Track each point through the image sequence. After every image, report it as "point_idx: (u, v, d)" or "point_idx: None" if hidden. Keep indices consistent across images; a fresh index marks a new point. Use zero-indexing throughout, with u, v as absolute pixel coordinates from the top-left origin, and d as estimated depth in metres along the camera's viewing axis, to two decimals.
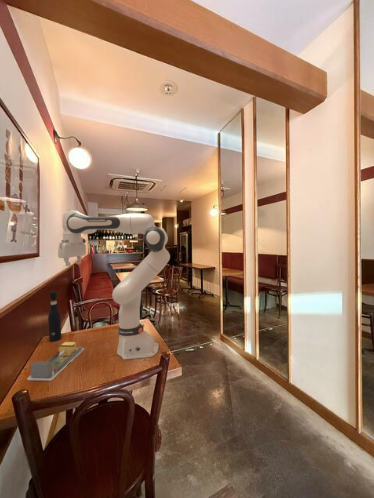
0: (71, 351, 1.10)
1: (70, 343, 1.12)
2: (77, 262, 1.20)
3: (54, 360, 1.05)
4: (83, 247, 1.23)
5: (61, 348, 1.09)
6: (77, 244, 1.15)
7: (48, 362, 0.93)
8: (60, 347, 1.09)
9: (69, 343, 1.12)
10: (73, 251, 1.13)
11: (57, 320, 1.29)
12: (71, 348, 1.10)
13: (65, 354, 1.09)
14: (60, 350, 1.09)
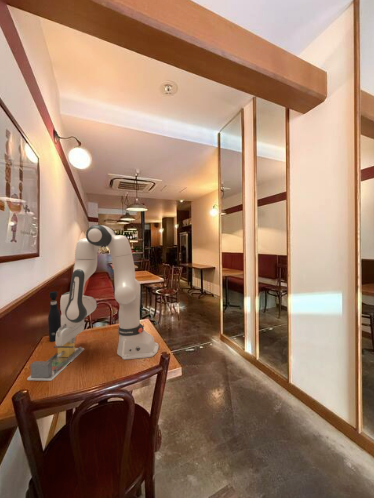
0: (70, 352, 1.08)
1: (69, 344, 1.11)
2: None
3: (54, 360, 1.05)
4: (81, 323, 1.21)
5: (60, 349, 1.08)
6: (75, 325, 1.13)
7: (48, 362, 0.93)
8: (59, 348, 1.08)
9: (67, 344, 1.11)
10: (71, 334, 1.12)
11: (57, 320, 1.29)
12: (70, 349, 1.08)
13: (64, 355, 1.08)
14: (59, 351, 1.08)
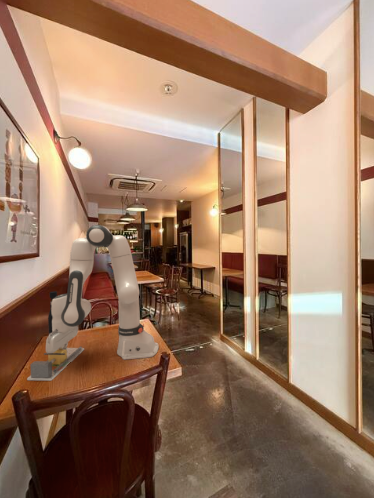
0: (61, 359, 1.02)
1: (61, 351, 1.04)
2: None
3: None
4: (74, 328, 1.15)
5: (50, 356, 1.01)
6: (67, 331, 1.07)
7: (48, 362, 0.93)
8: (49, 355, 1.01)
9: (59, 351, 1.04)
10: (63, 339, 1.05)
11: None
12: (61, 356, 1.02)
13: (55, 363, 1.01)
14: (49, 358, 1.01)
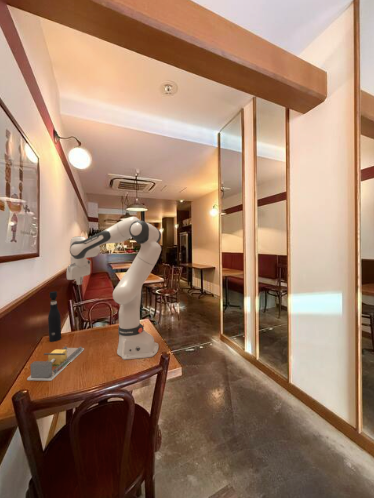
0: (61, 359, 1.02)
1: (61, 351, 1.04)
2: None
3: None
4: (88, 267, 1.37)
5: (50, 356, 1.01)
6: (83, 266, 1.29)
7: (48, 362, 0.93)
8: (49, 355, 1.01)
9: (59, 351, 1.04)
10: (79, 272, 1.28)
11: (57, 320, 1.29)
12: (61, 356, 1.02)
13: (55, 363, 1.01)
14: (49, 358, 1.01)
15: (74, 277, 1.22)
